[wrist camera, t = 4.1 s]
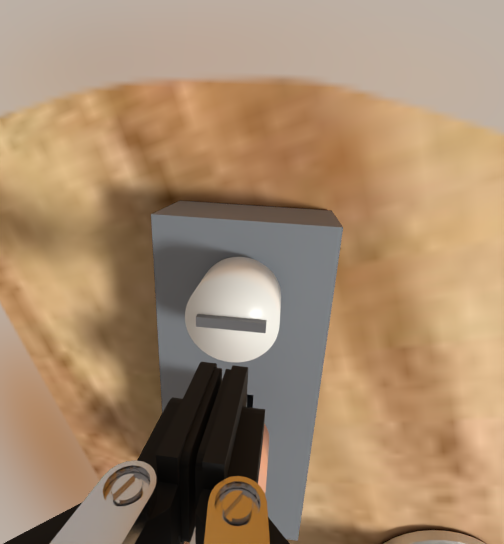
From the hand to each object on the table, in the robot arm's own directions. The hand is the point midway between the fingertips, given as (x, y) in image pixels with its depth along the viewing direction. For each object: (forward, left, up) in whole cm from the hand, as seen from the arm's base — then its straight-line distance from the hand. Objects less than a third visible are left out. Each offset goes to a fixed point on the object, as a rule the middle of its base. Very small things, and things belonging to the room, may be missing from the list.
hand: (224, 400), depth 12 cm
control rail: (-7, 0, -13) cm, 15 cm away
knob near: (+1, 0, -11) cm, 10 cm away
